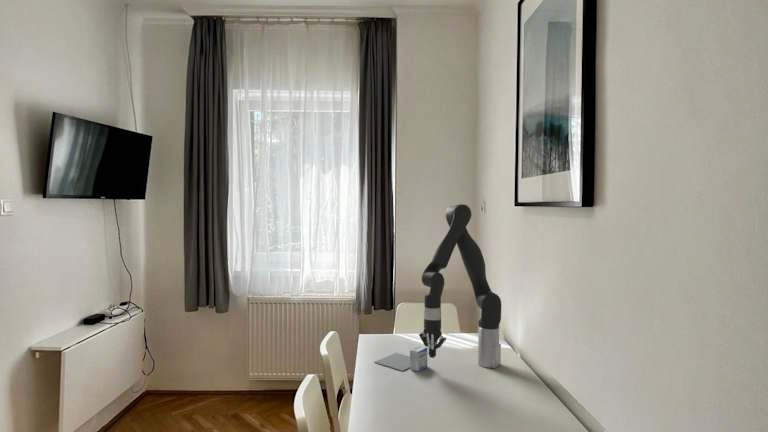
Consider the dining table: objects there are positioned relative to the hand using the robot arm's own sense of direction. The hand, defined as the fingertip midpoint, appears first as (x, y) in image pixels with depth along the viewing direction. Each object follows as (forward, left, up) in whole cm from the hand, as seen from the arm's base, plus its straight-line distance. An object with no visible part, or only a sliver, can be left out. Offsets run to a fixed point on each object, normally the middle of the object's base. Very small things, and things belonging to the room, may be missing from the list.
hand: (432, 357), depth 178 cm
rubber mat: (+18, 0, -6) cm, 19 cm away
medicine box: (+7, 0, -7) cm, 10 cm away
